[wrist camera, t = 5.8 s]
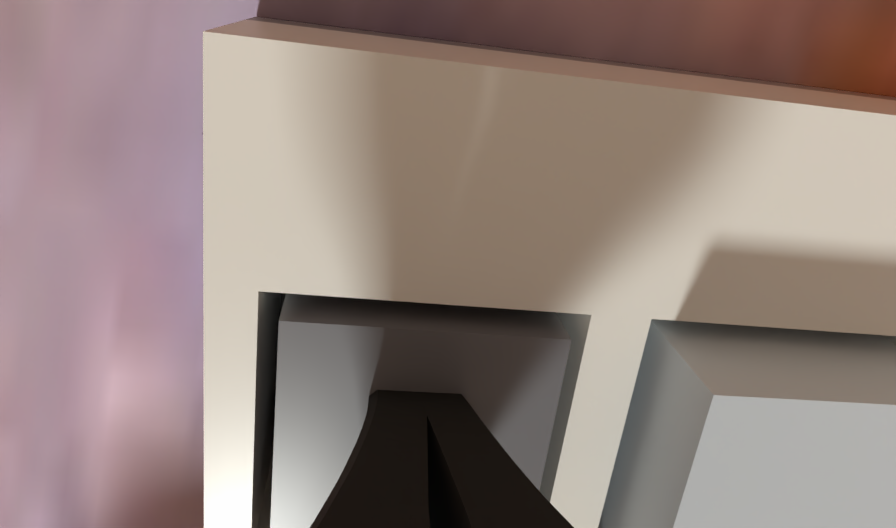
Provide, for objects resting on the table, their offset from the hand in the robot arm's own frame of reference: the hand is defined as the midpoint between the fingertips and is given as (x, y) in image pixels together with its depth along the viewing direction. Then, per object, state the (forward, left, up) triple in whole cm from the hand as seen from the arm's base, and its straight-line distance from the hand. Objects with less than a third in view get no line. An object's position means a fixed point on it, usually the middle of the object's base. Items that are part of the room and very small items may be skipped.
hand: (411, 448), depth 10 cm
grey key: (-5, 0, -2) cm, 6 cm away
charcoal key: (0, 0, -3) cm, 3 cm away
